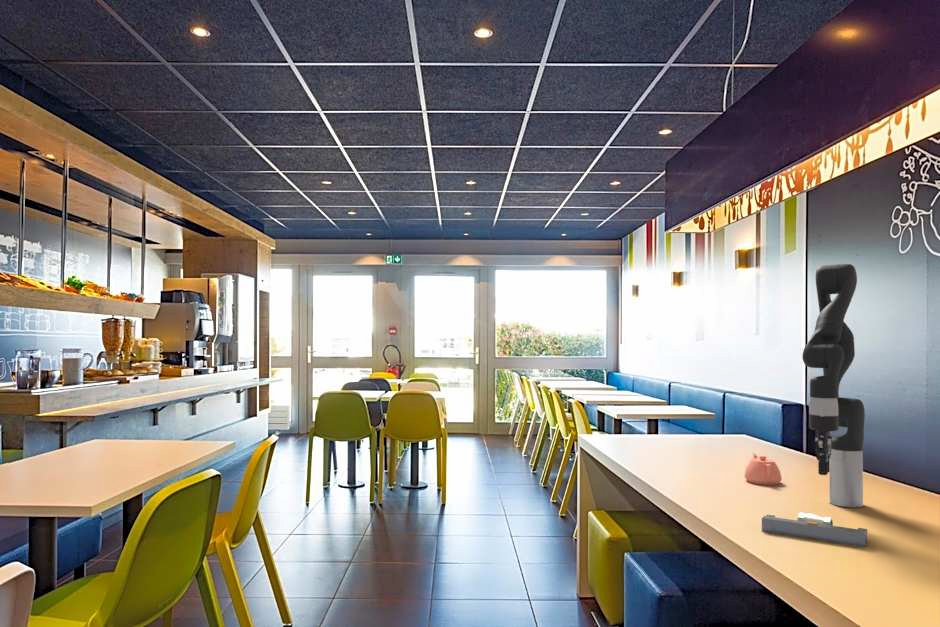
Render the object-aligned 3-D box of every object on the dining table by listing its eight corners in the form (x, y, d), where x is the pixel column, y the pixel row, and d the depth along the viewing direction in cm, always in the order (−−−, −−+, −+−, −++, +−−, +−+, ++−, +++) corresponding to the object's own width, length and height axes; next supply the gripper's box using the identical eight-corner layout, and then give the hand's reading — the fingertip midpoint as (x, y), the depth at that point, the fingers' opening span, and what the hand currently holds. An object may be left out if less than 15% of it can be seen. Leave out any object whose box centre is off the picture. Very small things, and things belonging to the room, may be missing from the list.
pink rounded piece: (752, 486, 241) (752, 459, 241) (737, 476, 258) (737, 450, 259) (788, 487, 239) (788, 460, 240) (770, 477, 257) (770, 451, 258)
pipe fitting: (804, 524, 193) (797, 527, 188) (804, 510, 194) (797, 513, 189) (836, 530, 188) (829, 533, 183) (836, 515, 188) (829, 518, 183)
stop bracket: (767, 525, 190) (767, 511, 190) (867, 540, 176) (867, 525, 176) (761, 531, 184) (761, 516, 184) (865, 547, 170) (864, 531, 170)
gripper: (812, 410, 205) (813, 468, 205) (805, 414, 194) (805, 475, 193) (841, 412, 201) (841, 471, 201) (835, 416, 189) (835, 479, 189)
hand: (824, 473), depth 197 cm, fingers open, 3 cm apart
